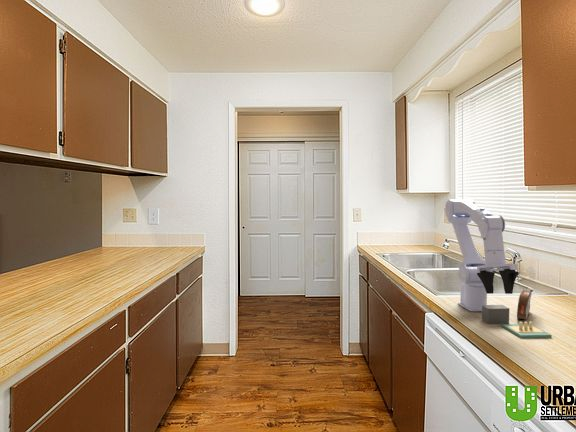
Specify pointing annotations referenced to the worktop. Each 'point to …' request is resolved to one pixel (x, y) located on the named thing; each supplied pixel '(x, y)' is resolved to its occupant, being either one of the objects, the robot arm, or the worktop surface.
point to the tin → (524, 305)
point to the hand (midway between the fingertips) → (499, 293)
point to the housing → (495, 314)
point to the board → (526, 330)
